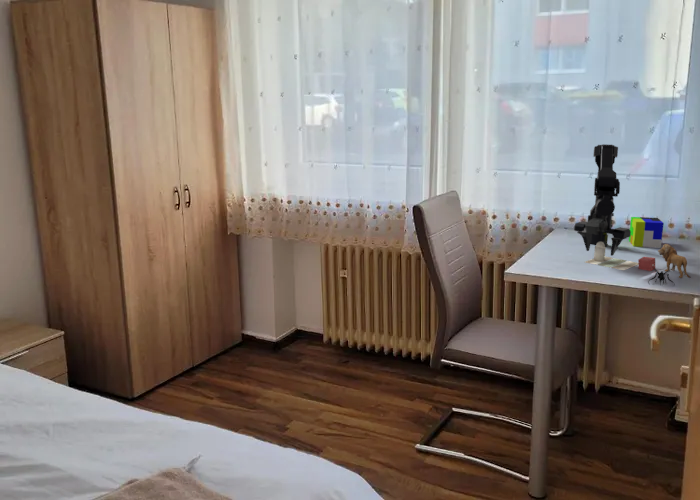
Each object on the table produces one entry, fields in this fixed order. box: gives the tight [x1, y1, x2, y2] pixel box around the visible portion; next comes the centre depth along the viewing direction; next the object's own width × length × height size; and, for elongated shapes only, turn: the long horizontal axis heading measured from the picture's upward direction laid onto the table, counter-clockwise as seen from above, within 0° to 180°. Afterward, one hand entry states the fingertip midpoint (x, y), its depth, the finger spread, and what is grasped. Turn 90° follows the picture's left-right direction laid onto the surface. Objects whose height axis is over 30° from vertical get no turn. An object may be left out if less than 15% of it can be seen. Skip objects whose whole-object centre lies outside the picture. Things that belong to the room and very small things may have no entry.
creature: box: [647, 267, 675, 286], centre depth 216 cm, size 8×5×8 cm
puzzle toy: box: [628, 216, 664, 249], centre depth 268 cm, size 10×10×10 cm
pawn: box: [593, 242, 607, 261], centre depth 242 cm, size 4×4×7 cm
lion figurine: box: [657, 243, 692, 279], centre depth 227 cm, size 15×5×9 cm, turn 15°
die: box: [637, 256, 656, 272], centre depth 231 cm, size 4×4×4 cm
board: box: [584, 255, 639, 271], centre depth 239 cm, size 15×14×1 cm
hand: (599, 253), depth 242 cm, fingers open, 9 cm apart
